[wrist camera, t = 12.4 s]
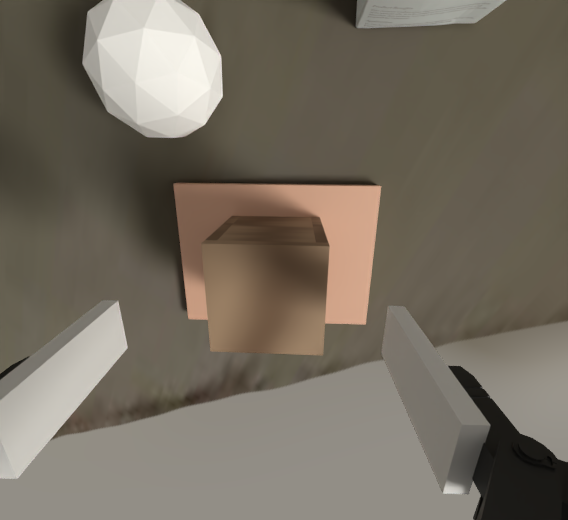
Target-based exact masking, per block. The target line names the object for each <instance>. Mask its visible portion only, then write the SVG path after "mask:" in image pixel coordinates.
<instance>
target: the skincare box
mask: <svg viewBox="0 0 568 520" xmlns="http://www.w3.org/2000/svg"><path fill="white" fill-rule="evenodd" d="M504 1H506V0H357V12H356V28H382V27H410V26H432V25H444V24H453V23H476V22H477V21H479V20H480V19H481V18H483V17H484V16H486V15H487V14H488V13H490V12H491V11H492V10H494V9H495V8H496V7H498V6H499V5H500V4H502V3H503V2H504Z"/></svg>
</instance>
